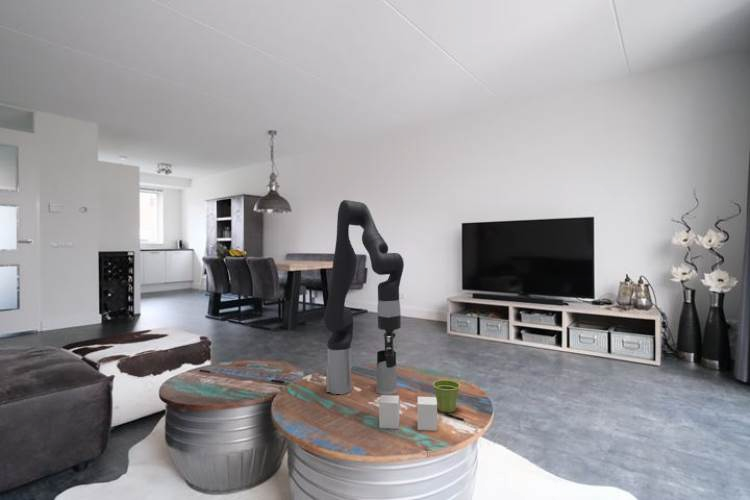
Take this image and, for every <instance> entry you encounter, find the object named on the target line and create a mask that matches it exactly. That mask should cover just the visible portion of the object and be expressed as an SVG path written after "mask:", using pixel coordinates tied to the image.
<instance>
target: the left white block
mask: <svg viewBox="0 0 750 500" xmlns="http://www.w3.org/2000/svg"><path fill="white" fill-rule="evenodd" d="M378 402H379V403H378V409H379V413H378V414H379V415H378V416H379V418H378V419H379V421H378V422H379V423H378V424H379V429H397V430H399V427H400V426H399V425H400V395H393V394H388V395H386V394H380V398H379V401H378Z"/></svg>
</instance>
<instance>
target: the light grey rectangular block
mask: <svg viewBox="0 0 750 500" xmlns="http://www.w3.org/2000/svg"><path fill="white" fill-rule="evenodd" d="M417 430H418V431H436V432H437V431H438V406H437V399H436V396H417Z"/></svg>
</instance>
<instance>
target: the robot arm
mask: <svg viewBox="0 0 750 500" xmlns="http://www.w3.org/2000/svg"><path fill="white" fill-rule="evenodd" d="M337 210H338V211H337V220H336V222H337V223H336V239H335V247H334V254H333V260H332V268H331V269H332V270H331V277H330V284H329V292H328V297H327V302H326V304H325V305H326V306H325V310H324V314H323V325H324V327H325V329H326V330H327V331H328V332H330V333H331V335H330V338H329V339H328V340H327V367H326V370H325V372H326V373H325V374H326V375H325V376H326V382H325V383H326V385H325V386H326V390H325V391H326V393H327V392H330V393H329V394H331V393H332V394H331V395H336V394H340V395H346V394H348V393H350V392H351V391H352V346H351V345H352V342H353V341H352V340H353V338H354V316H353V312H352V310H351V309H350V307H348V306H345V303H346V298H347V296H348V293H349V290H350V288H351V286H352V284H353V282H354V280H355V276H356V271H357V263H358V258H357V255H356V253H355V249H354V247H353V245H352V243H351V240H350V235H349V233H350V232H349V231H350V230H349V229H350V226H359V227H360V228H362V229H363V230H362V231H363V232H362V233H361V235H362V236H361V241H362V245H363V246H364V248H365V250H366V251H367V253H368V255H369V259H370V265H371V269H372V271H373V272H374V273H375V274H377V275H379V276H386V275H388V279H386V280H385V281H384V280H383V281H382V282H379V283H378V284H377V328H378V329H379V330H382V331H383V330H384V331H385V333H383V338H382V340H383V348H384V349H383V350H385V355H386V367H387V368H392V367H393V360H394V351H395V348H396V347H395V346H396V338H397V332H395V330H399V329H401V328H402V323H401V322H402V321H401V320H402V319H401V318H402V317H401V304H400V286H401V281H402V275H403V271H404V265H405V263H404V262H405V261H404V258H403V256H402V254H400V253H398V252H389V246H388V244H387V242H386V241H385V239H384V238H383V237H382V235H381V233H380V232H379V230H378V228H377V226H376V223H375V220H374V218H373V216H372V214H371V212H370V209H369V207H368V206H367V205H366V204H365V203H364V202H360V201H354V200H349V199H344V200H342V201H341V202H340V204H339V207H338V209H337Z"/></svg>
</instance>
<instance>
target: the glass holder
mask: <svg viewBox="0 0 750 500" xmlns="http://www.w3.org/2000/svg"><path fill="white" fill-rule="evenodd" d="M376 360H377V361H376V388H375V392H376V393H378V394H380V395H394V394H395V393H397V392H398V388H397V378H398V377H397V352H396V351H395V350H394V360H393V367H392V368H387V367H386V355H385V349H382V350H378V351H377V352H376Z"/></svg>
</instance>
